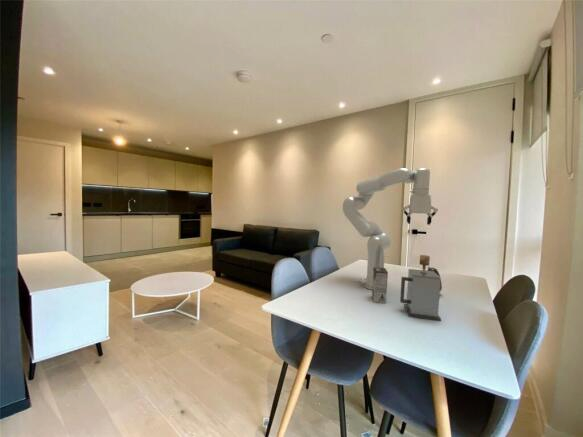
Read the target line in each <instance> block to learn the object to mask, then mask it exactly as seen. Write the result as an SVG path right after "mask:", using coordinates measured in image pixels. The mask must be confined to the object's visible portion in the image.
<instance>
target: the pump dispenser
mask: <svg viewBox="0 0 583 437" xmlns="http://www.w3.org/2000/svg"><path fill="white" fill-rule="evenodd" d="M426 271H434V272H435V273H436V274H437V275H438V276H439V277H441V275H440V272H439V271H438V269H437V268H435V267H431V266H428V267H427V270H426ZM442 285H443V284H442V279H441V280H440V293H441V291H442V290H443V286H442Z"/></svg>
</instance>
